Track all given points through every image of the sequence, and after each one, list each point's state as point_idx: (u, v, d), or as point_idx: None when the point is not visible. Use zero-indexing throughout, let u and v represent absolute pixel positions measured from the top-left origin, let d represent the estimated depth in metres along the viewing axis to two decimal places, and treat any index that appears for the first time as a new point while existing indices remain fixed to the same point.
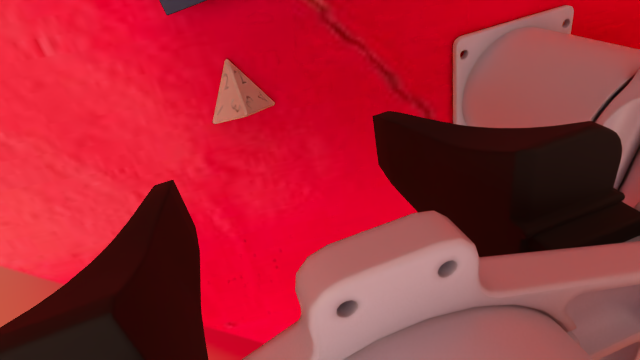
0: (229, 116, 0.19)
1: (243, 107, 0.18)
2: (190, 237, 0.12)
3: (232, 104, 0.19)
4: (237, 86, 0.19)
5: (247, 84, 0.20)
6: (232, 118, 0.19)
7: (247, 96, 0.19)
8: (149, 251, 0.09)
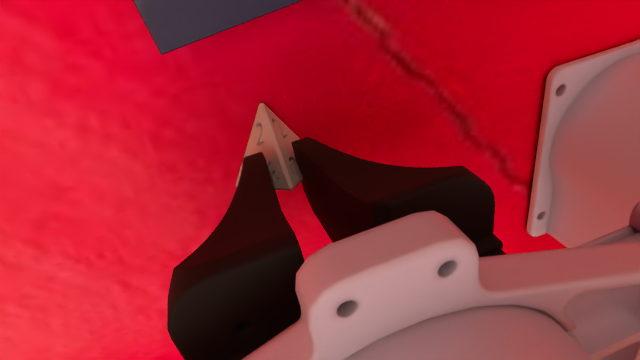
0: None
1: (286, 177, 0.13)
2: (279, 206, 0.13)
3: None
4: (277, 144, 0.13)
5: (288, 138, 0.14)
6: None
7: (290, 157, 0.14)
8: None
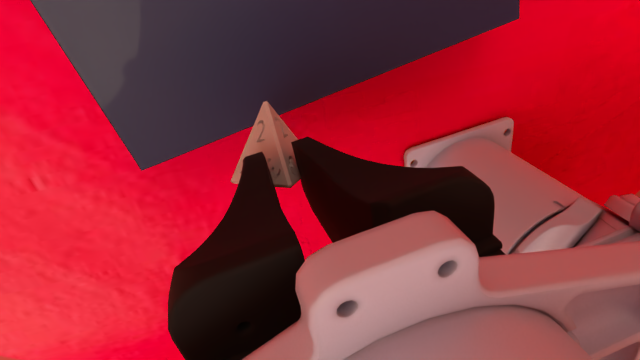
0: None
1: (285, 174, 0.13)
2: None
3: None
4: (278, 142, 0.13)
5: (288, 138, 0.14)
6: None
7: (289, 156, 0.14)
8: None
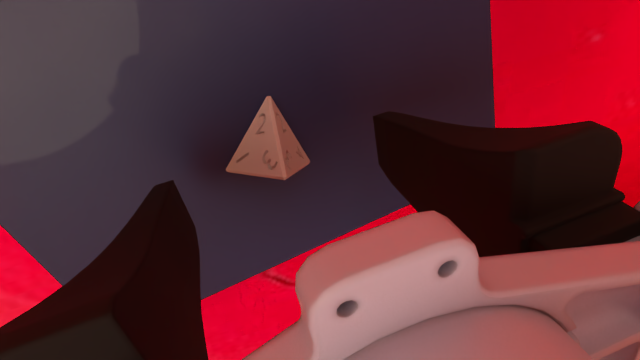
0: (255, 171, 0.14)
1: (281, 167, 0.13)
2: (190, 237, 0.12)
3: (264, 157, 0.14)
4: (278, 135, 0.14)
5: (287, 133, 0.15)
6: (259, 175, 0.14)
7: (286, 150, 0.14)
8: (149, 251, 0.09)
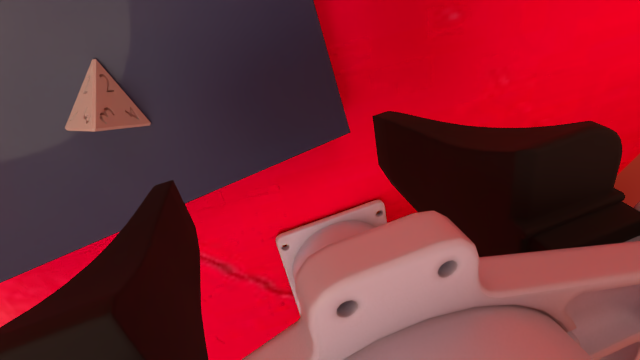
0: (79, 126, 0.16)
1: (92, 120, 0.15)
2: (190, 237, 0.12)
3: (85, 113, 0.16)
4: (95, 93, 0.15)
5: (114, 94, 0.16)
6: (81, 129, 0.16)
7: (107, 108, 0.16)
8: (149, 251, 0.09)
